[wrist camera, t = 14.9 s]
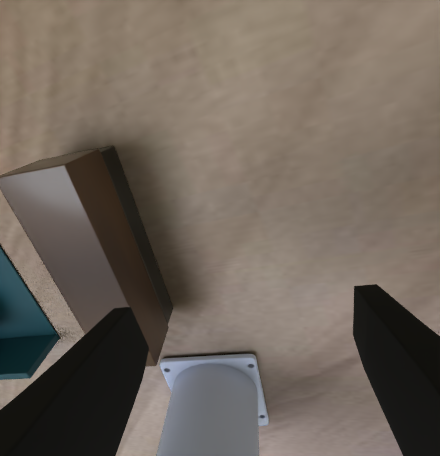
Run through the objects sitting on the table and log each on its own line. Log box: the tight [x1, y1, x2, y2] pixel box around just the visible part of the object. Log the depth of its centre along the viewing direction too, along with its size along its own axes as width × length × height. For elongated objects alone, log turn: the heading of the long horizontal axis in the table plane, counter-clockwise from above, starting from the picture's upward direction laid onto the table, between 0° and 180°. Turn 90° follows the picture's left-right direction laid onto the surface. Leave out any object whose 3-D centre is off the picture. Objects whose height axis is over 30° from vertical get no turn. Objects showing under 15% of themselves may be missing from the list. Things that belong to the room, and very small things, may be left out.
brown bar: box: [0, 146, 173, 366], centre depth 16 cm, size 12×3×5 cm, turn 11°
